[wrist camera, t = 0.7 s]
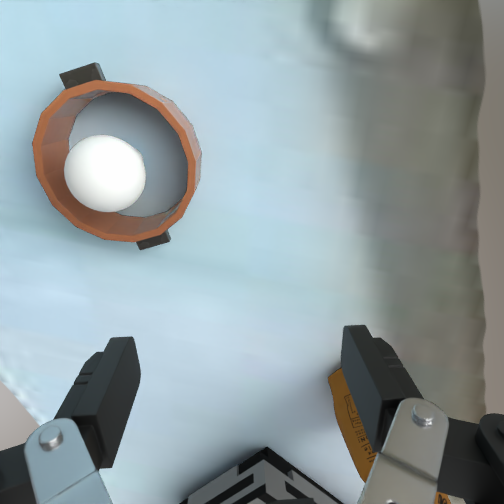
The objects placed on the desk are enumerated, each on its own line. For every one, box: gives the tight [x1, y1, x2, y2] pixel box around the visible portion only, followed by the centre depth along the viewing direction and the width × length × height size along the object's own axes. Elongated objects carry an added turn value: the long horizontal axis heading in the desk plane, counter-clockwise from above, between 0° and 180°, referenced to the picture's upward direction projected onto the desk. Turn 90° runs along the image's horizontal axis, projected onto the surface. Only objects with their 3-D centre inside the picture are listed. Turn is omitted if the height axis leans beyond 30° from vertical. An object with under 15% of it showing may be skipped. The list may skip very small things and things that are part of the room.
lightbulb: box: [64, 135, 146, 212], centre depth 31 cm, size 6×6×11 cm
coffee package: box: [328, 368, 451, 504], centre depth 40 cm, size 10×12×22 cm
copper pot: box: [32, 63, 202, 250], centre depth 33 cm, size 16×14×6 cm
